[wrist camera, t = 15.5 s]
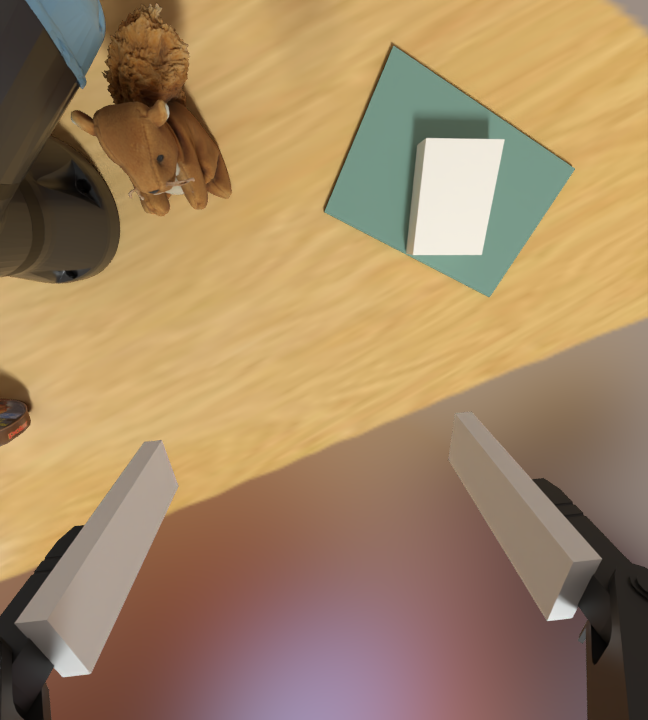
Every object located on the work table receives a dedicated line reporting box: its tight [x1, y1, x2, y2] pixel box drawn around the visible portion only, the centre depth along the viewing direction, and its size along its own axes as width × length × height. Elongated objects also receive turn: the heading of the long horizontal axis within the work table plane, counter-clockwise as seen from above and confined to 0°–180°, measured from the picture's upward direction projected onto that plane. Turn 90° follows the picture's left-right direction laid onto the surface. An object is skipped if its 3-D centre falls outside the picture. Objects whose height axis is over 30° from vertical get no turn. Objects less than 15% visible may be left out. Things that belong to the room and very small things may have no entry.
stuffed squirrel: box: [71, 3, 232, 216], centre depth 26 cm, size 10×14×13 cm
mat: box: [324, 46, 575, 297], centre depth 35 cm, size 24×16×1 cm, turn 65°
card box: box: [406, 138, 505, 255], centre depth 34 cm, size 8×3×11 cm
